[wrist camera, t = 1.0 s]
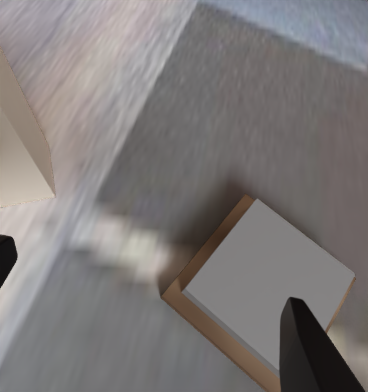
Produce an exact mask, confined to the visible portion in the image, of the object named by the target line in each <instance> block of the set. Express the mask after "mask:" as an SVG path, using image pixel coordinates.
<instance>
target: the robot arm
mask: <svg viewBox="0 0 368 392" xmlns="http://www.w3.org/2000/svg"><path fill="white" fill-rule="evenodd" d="M17 256H18V255H17V250H16V246H15V242H14V239H13V238H12V237H11V236H6V235H0V288H1V287H2V285H3V283H4V281H5V280H6V278H7V276H8V275H9V273H10V271H11V270H12V268H13V266H14V265H15V263H16V261H17ZM279 375H280V387H281V392H365V390H364V389H363V387H362V386H361V384H360V383H359V381H358V380H357V378H356V377H355V375H354V374H353V372H352V371H351V369H350V368H349V366H348V365H347V364H346V362H345V361H344V359H343V358H342V356H341V355H340V353H339V352H338V350H337V349H336V347H335V346H334V344H333V343H332V341H331V340H330V338H329V337H328V335H327V334H326V332H325V331H324V329H323V328H322V326H321V325H320V323H319V322H318V320H317V319H316V317H315V316H314V314H313V313H312V311H311V310H310V309H309V307H308V306H307V304H306V303H305V301H304V300H303V299H300V298H295V297H289V298H288V299H287V301H286V304H285V306H284V308H283V311H282V313H281V317H280V351H279Z"/></svg>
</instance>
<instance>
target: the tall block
mask: <svg viewBox="0 0 368 392" xmlns="http://www.w3.org/2000/svg"><path fill="white" fill-rule="evenodd" d="M54 197H56V195H55V188H54V180H53V173H52V165H51V158H50V150H49V146H48V144H47V142H46V139H45V137H44V135H43V133H42V131H41V129H40V127H39V125H38V123H37V121H36V119H35V117H34V115H33V113H32V111H31V109H30V106H29V104H28V102H27V100H26V98H25V96H24V94H23V92H22V90H21V88H20V86H19V84H18V82H17V80H16V78H15V75H14V73H13V71H12V69H11V67H10V65H9V63H8V61H7V59H6V57H5V55H4V53H3V51H2V49H1V47H0V208H1V207H6V206H12V205H17V204H22V203H28V202H33V201H38V200H43V199H49V198H54Z"/></svg>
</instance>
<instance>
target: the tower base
mask: <svg viewBox="0 0 368 392" xmlns="http://www.w3.org/2000/svg"><path fill="white" fill-rule="evenodd" d="M254 201H255V200H253V199H252V198H251V197H249V196H248V195H247V194H245V195H244V196H243V197H242V199H241V200H240V201H239V202H238V204H237V205H236V206H235V207H234V208H233V210H232V211H231V212H230V213H229V215H228V216H227V217H226V218H225V219H224V221H223V222H222V223H221V224H220V225H219V227H218V228H217V229H216V230H215V232H214V233H213V234H212V235H211V236H210V238H209V239H208V240H207V241H206V243H205V244H204V245H203V246H202V247H201V249H200V250H199V251H198V252H197V253H196V255H195V256H194V257H193V258H192V260H191V261H190V262H189V263H188V264H187V266H186V267H185V268H184V269H183V270H182V272H181V273H180V274H179V275H178V277H177V278H176V279H175V280H174V281H173V283H172V284H171V285H170V286H169V288H168V289H167V290H166V291H165V292H164V294H163V295H162V296H161V299H162V300H164V301H165V302H166V303H167V304H168V305H169V306H170V307H171V308H173V309H174V310H175V311H176V312H177V313H178V314H179V315H180V316H182V317H183V318H184V319H185V320H186V321H187V322H188V323H189V324H191V325H192V326H193V327H194V328H195V329H196V330H197V331H198V332H200V333H201V334H202V335H203V336H204V337H205V338H206V339H207V340H209V341H210V342H211V343H212V344H213V345H214V346H215V347H216V348H218V349H219V350H220V351H221V352H222V353H223V354H224V355H225V356H227V357H228V358H229V359H230V360H231V361H232V362H233V363H234V364H236V365H237V366H238V367H239V368H240V369H241V370H242V371H243V372H245V373H246V374H247V375H248V376H249V377H250V378H251V379H252V380H254V381H255V382H256V383H257V384H258V385H259V386H260V387H261V388H263V389H264V390H265V391H266V392H281V387H280V379H279V378H278V377H277V376H276V375H275V374H274V373H273V372H271V371H270V370H269V369H268V368H267V367H266V366H265V365H263V364H262V363H261V362H260V361H259V360H258V359H257V358H256V357H254V356H253V355H252V354H251V353H250V352H249V351H248V350H246V349H245V348H244V347H243V346H242V345H241V344H240V343H238V342H237V341H236V340H235V339H234V338H233V337H232V336H230V335H229V334H228V333H227V332H226V331H225V330H224V329H222V328H221V327H220V326H219V325H218V324H217V323H216V322H214V321H213V320H212V319H211V318H210V317H209V316H208V315H207V314H205V313H204V312H203V311H202V310H201V309H200V308H199V307H197V306H196V305H195V304H194V303H193V302H192V301H191V300H189V299H188V298H187V297H186V296H185V295H184V294H183V293H181V292H182V291H183V290H184V288H185V287H186V286H187V285H188V283H189V282H190V281H191V280H192V278H193V277H194V276H195V275H196V273H197V272H198V271H199V270H200V268H201V267H202V266H203V265H204V263H205V262H206V261H207V260H208V258H209V257H210V256H211V255H212V253H213V252H214V251H215V250H216V248H217V247H218V246H219V245H220V243H221V242H222V241H223V240H224V238H225V237H226V236H227V235H228V233H229V232H230V231H231V230H232V228H233V227H234V226H235V225H236V223H237V222H238V221H239V220H240V218H241V217H242V216H243V215H244V213H245V212H246V211H247V210H248V208H249V207H250V206H251V205H252V204H253V202H254ZM355 280H356V278H355V277H354V278H353V280H352V282H351V284H350V285H349V287H348V289H347V291H346V293H345V295H344V297H343V298H342V300H341V302H340V304H339V306H338V308H337V310H336V311H335V313H334V315H333V317H332V319H331V321H330V323H329V324H328V326H327V328H326V330H325V332H326V334H327V332H328V330H329V328H330V326H331V325H332V323H333V321H334V319H335V317H336V315H337V313H338V311H339V310H340V308H341V306H342V304H343V302H344V300H345V298H346V296H347V295H348V293H349V291H350V289H351V287H352V285H353V283H354V281H355Z"/></svg>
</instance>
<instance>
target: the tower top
mask: <svg viewBox="0 0 368 392" xmlns="http://www.w3.org/2000/svg"><path fill="white" fill-rule="evenodd" d="M354 276H355V273H353V272H352V271H351V270H349V269H348V268H347V267H346V266H344V265H343V264H342V263H340V262H339V261H338V260H337V259H335V258H334V257H333V256H331V255H330V254H329V253H327V252H326V251H325V250H324V249H322V248H321V247H320V246H318V245H317V244H316V243H314V242H313V241H312V240H311V239H309V238H308V237H307V236H305V235H304V234H303V233H302V232H300V231H299V230H298V229H296V228H295V227H294V226H292V225H291V224H290V223H289V222H287V221H286V220H285V219H283V218H282V217H281V216H280V215H278V214H277V213H276V212H274V211H273V210H272V209H270V208H269V207H268V206H267V205H265V204H264V203H263V202H261V201H260V200H259V199H256V200H255V201H254V202H253V204H252V205H251V206H250V207H249V208H248V210H247V211H246V212H245V213H244V215H243V216H242V217H241V218H240V220H239V221H238V222H237V223H236V225H235V226H234V227H233V228H232V230H231V231H230V232H229V233H228V235H227V236H226V237H225V238H224V240H223V241H222V242H221V243H220V245H219V246H218V247H217V248H216V250H215V251H214V252H213V253H212V255H211V256H210V257H209V258H208V260H207V261H206V262H205V263H204V265H203V266H202V267H201V268H200V270H199V271H198V272H197V273H196V275H195V276H194V277H193V278H192V280H191V281H190V282H189V283H188V285H187V286H186V287H185V288H184V290H183V291H182V292H181V293H183V294H184V295H185V296H186V297H187V298H188V299H189V300H191V301H192V302H193V303H194V304H195V305H196V306H197V307H199V308H200V309H201V310H202V311H203V312H204V313H205V314H207V315H208V316H209V317H210V318H211V319H212V320H213V321H214V322H216V323H217V324H218V325H219V326H220V327H221V328H222V329H224V330H225V331H226V332H227V333H228V334H229V335H230V336H232V337H233V338H234V339H235V340H236V341H237V342H238V343H240V344H241V345H242V346H243V347H244V348H245V349H246V350H248V351H249V352H250V353H251V354H252V355H253V356H254V357H256V358H257V359H258V360H259V361H260V362H261V363H262V364H263V365H265V366H266V367H267V368H268V369H269V370H270V371H271V372H273V373H274V374H275V375H276V376H277V377H278V378H279V379H280V375H279V351H280V317H281V313H282V311H283V308H284V306H285V304H286V301H287V299H288V298H289V297H295V298H300V299H303V300H304V301H305V303H306V304H307V306H308V307H309V309H310V310H311V311H312V313H313V314H314V316H315V317H316V319H317V320H318V322H319V323H320V325H321V326H322V328H323V329H324V331H325V330H326V328H327V326H328V324H329V323H330V321H331V319H332V317H333V315H334V313H335V311H336V310H337V308H338V306H339V304H340V302H341V300H342V298H343V297H344V295H345V293H346V291H347V289H348V287H349V285H350V284H351V282H352V280H353V278H354Z"/></svg>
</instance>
